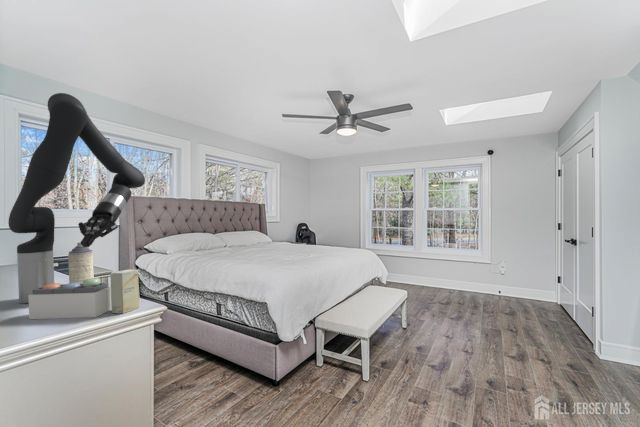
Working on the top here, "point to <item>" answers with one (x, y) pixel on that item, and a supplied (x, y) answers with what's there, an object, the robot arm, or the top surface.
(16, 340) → the top surface
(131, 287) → the skincare box
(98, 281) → the sage button
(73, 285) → the slate blue button
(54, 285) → the terracotta button
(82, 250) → the aerosol can
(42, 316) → the button console
